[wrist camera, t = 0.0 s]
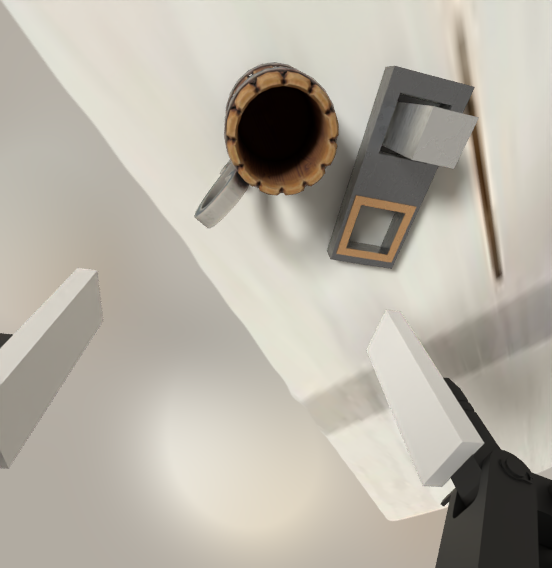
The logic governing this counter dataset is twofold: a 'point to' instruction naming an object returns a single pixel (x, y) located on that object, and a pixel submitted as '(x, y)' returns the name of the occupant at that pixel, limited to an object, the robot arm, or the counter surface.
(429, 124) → the steel peg
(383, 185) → the rail plate
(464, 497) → the robot arm
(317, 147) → the mug
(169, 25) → the counter surface
